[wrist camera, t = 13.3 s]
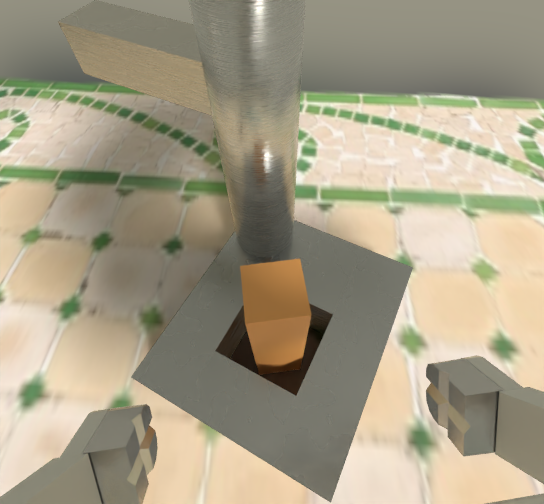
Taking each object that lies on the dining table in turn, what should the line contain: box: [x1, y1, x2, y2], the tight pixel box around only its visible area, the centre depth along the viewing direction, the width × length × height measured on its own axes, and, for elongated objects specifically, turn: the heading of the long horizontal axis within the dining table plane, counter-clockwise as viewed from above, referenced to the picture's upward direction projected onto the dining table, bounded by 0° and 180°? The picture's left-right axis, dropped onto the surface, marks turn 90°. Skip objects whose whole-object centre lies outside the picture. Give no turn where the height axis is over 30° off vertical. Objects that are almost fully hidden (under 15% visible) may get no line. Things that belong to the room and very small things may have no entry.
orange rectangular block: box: [240, 259, 311, 375], centre depth 19 cm, size 3×3×10 cm
